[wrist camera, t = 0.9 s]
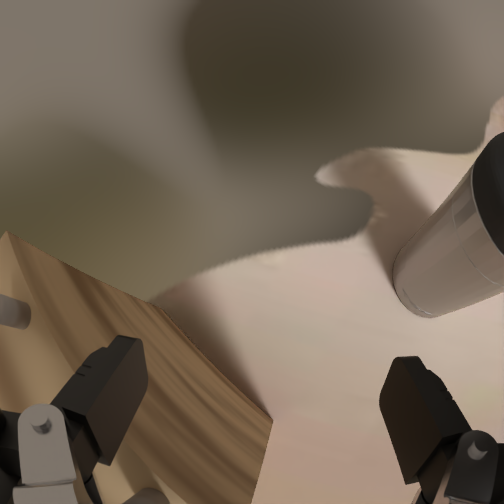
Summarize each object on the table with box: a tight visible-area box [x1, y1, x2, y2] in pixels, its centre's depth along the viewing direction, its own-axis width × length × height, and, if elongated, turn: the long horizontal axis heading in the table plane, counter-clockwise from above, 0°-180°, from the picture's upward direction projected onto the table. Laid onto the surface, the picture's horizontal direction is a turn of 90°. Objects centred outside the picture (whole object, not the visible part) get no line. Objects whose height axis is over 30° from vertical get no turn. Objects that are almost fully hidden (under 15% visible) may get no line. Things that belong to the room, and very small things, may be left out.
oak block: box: [0, 231, 273, 504], centre depth 18 cm, size 9×17×24 cm, turn 46°
